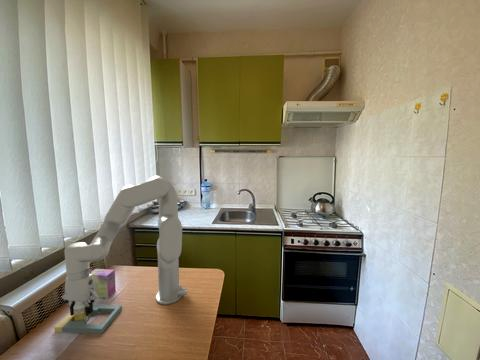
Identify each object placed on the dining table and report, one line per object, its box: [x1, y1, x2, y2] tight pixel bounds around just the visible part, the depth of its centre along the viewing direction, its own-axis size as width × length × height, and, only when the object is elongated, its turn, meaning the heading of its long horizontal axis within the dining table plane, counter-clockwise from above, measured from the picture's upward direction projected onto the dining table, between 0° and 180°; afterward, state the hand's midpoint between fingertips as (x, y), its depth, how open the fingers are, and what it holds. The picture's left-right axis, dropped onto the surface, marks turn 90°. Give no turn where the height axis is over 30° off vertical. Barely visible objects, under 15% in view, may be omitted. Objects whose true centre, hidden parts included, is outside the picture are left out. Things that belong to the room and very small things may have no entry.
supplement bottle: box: [73, 301, 91, 322], centre depth 87 cm, size 5×5×10 cm
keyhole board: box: [53, 303, 123, 335], centre depth 88 cm, size 19×13×2 cm
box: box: [91, 268, 117, 299], centre depth 104 cm, size 10×6×12 cm, turn 84°
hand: (81, 313), depth 88 cm, fingers open, 5 cm apart
